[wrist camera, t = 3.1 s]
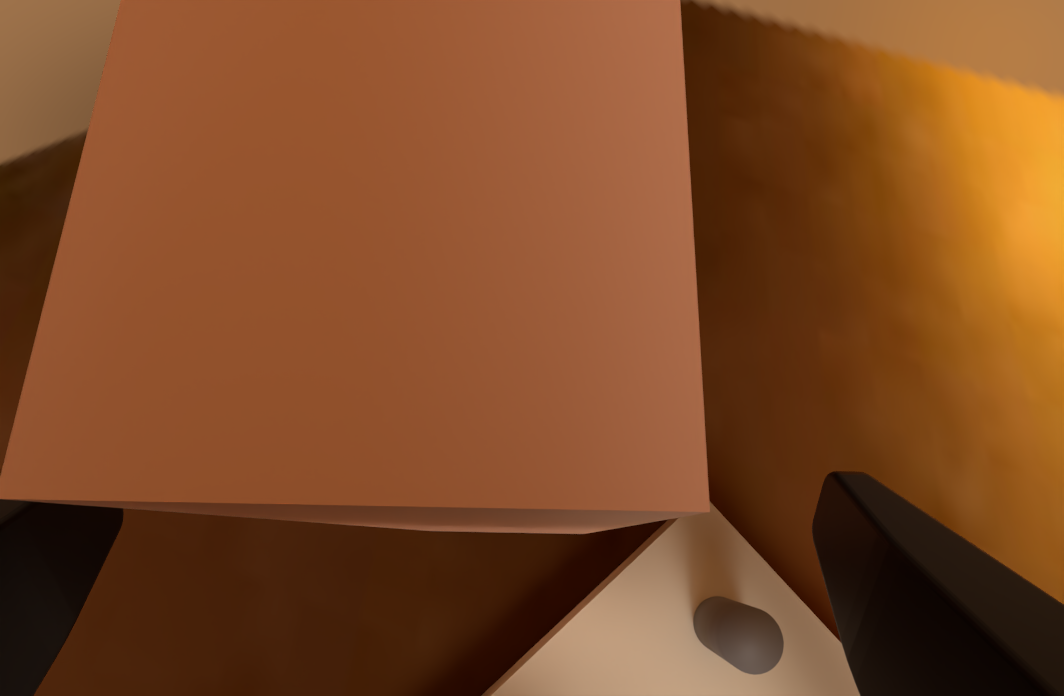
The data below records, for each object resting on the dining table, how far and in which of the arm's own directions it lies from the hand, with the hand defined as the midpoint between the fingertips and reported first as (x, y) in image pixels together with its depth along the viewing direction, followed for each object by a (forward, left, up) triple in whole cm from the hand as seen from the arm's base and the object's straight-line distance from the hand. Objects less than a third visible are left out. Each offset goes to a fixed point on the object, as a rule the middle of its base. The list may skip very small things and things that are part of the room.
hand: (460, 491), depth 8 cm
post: (+1, +1, -9) cm, 10 cm away
